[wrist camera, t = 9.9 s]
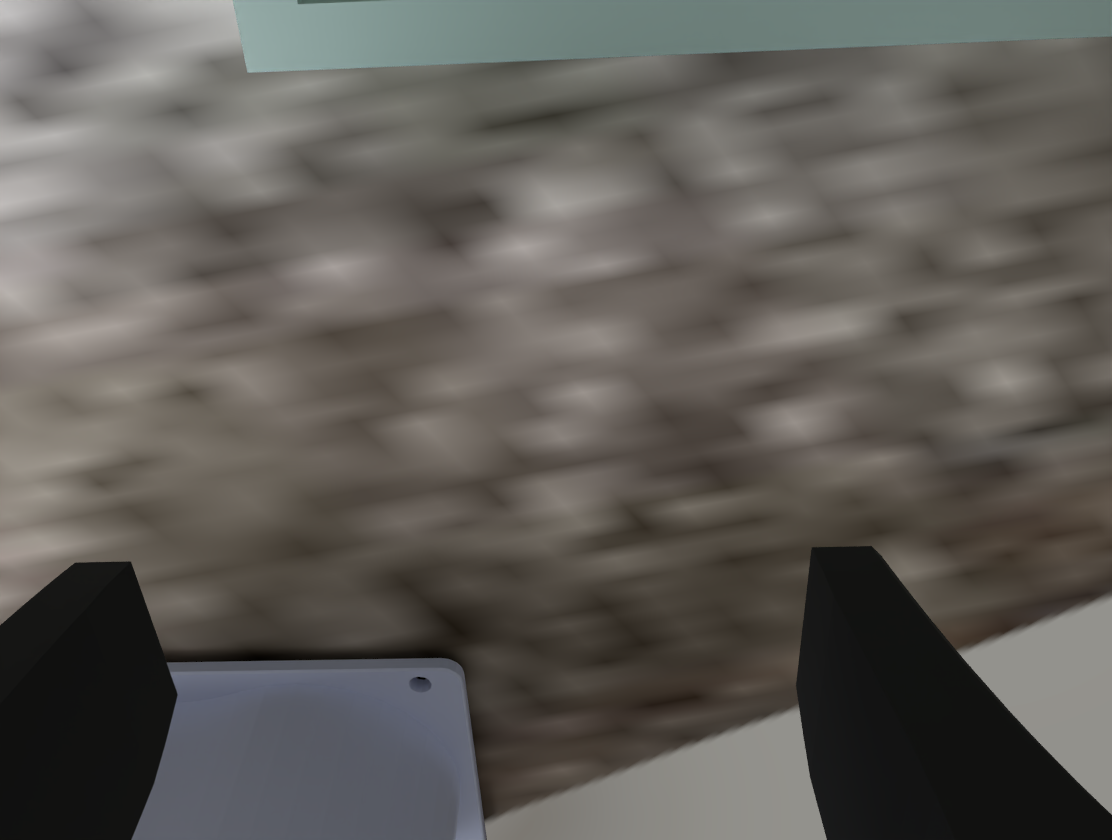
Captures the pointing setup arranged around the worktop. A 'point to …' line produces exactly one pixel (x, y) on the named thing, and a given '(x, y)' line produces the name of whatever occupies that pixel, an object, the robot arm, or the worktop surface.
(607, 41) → the tote
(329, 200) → the worktop surface
